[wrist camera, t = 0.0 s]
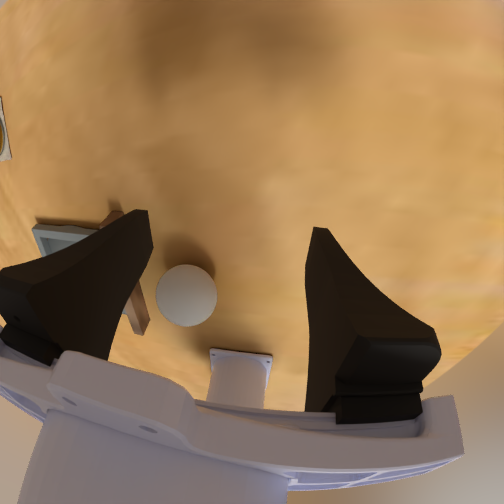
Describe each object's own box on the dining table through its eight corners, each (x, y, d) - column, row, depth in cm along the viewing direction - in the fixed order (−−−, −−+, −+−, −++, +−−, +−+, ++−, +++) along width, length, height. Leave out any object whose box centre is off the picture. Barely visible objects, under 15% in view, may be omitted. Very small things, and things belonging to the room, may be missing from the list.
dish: (134, 306, 32) (130, 315, 31) (66, 291, 33) (61, 298, 32) (112, 228, 26) (106, 237, 24) (38, 222, 26) (31, 228, 25)
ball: (222, 298, 29) (211, 343, 25) (170, 291, 30) (153, 332, 25) (222, 255, 26) (208, 301, 22) (163, 248, 26) (141, 290, 22)
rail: (150, 319, 33) (143, 335, 31) (141, 318, 33) (134, 333, 31) (123, 211, 24) (110, 226, 22) (112, 211, 24) (99, 225, 22)
